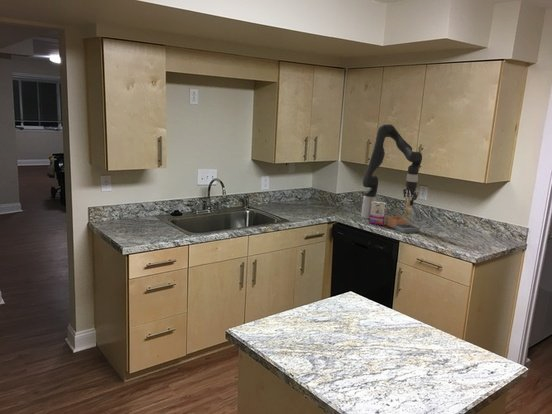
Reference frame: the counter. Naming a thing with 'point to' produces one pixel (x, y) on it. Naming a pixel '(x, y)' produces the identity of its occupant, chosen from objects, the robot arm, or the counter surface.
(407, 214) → the wooden dowel
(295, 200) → the counter surface
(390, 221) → the terracotta square open box
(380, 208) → the candy bar box
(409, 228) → the slate tray
